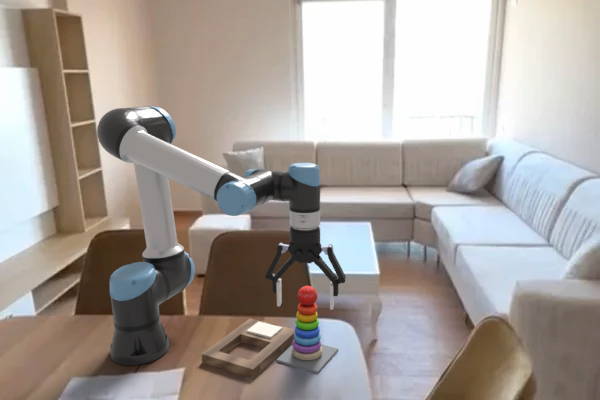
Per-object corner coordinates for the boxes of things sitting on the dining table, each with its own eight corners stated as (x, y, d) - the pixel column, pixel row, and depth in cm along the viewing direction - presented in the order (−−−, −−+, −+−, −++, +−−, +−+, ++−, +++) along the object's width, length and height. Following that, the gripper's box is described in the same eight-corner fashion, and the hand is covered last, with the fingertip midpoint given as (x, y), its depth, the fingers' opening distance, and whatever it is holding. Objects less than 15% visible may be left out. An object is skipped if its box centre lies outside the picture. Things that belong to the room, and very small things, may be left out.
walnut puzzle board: (202, 362, 128) (201, 351, 127) (250, 326, 147) (250, 316, 146) (253, 378, 120) (252, 367, 120) (297, 338, 139) (297, 328, 138)
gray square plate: (276, 361, 128) (276, 359, 127) (298, 340, 138) (298, 338, 138) (317, 373, 122) (317, 371, 122) (338, 350, 132) (338, 348, 132)
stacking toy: (319, 363, 125) (318, 294, 121) (288, 360, 127) (287, 292, 122) (324, 347, 133) (324, 282, 128) (295, 344, 134) (294, 280, 130)
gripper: (251, 228, 120) (254, 309, 125) (355, 232, 116) (353, 315, 121) (259, 220, 127) (261, 296, 132) (356, 223, 123) (355, 302, 128)
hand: (305, 305), depth 127 cm, fingers open, 13 cm apart
